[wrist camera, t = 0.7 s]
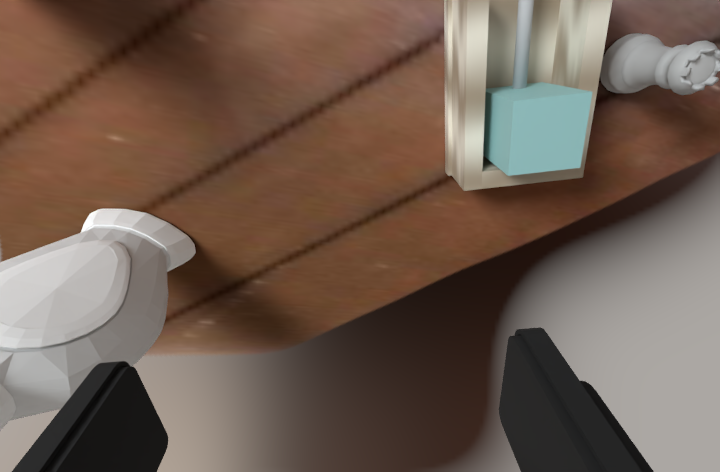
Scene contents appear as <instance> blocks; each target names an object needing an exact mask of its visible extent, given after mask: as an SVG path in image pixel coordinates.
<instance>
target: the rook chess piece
mask: <svg viewBox="0 0 720 472" xmlns="http://www.w3.org/2000/svg"><path fill="white" fill-rule="evenodd" d="M718 71H720V50H718V48H717V47H716V45H715V44H714V43H711V42H709V41H698V42H695V43H693V44H691V45H689V46H688V45H678V46H675V47H674V48H671V47H666V46H664V44H663V43H662V42H661V41H660V40H659V38H657V37H654V36H651V35H649V34H641V33H635V34H628V35H626V36H624V37H622V38H620V39H618V40H617V41H616V42H615V43H614V44H613V45H612V46H611V47H610V48H609V49H608V50H607V52H606V54H605V55H604V57H603V60H602V66H601V72H600V78H601V83H602V84H603V85H604V86H605V88H606V89H607V90H609V91H611V92H614V93H623V94H625V93H634V92H638V91H640V90H642V89H644V88H646V87H648V86H650V85H659V86H660V87H662V88H664V89H672V91H673V92H674V93H677V94H680V95H687V94H692V93H694V92H697V91H699V90H704V87H705V86H706V85H709V86H713V85H714V84H715V83H716V82H717V81H718V80H719V79H718V78H717V77H715V75H716V74H717V72H718Z"/></svg>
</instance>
